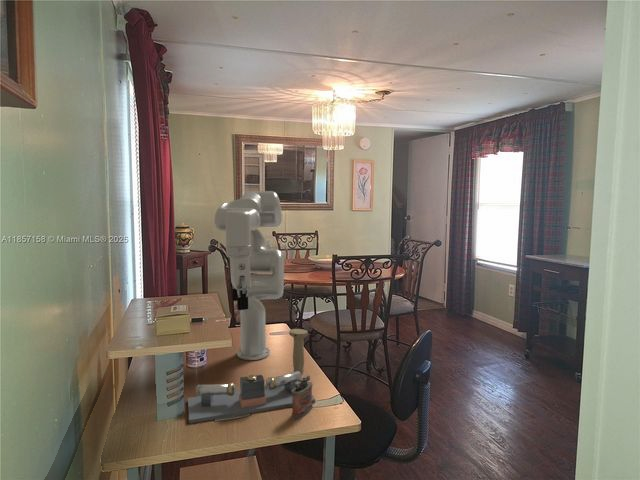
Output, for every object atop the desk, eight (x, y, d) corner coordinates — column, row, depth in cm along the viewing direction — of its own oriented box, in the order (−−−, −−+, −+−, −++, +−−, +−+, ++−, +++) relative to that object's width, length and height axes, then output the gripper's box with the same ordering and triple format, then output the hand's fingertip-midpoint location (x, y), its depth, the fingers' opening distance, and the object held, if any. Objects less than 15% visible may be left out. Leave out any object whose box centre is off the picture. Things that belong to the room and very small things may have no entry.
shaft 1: (235, 402, 123) (235, 380, 123) (233, 409, 119) (233, 386, 119) (198, 403, 123) (198, 381, 122) (195, 410, 119) (195, 387, 118)
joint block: (240, 393, 122) (240, 375, 122) (262, 390, 124) (261, 372, 124) (242, 400, 119) (241, 381, 118) (264, 396, 121) (264, 378, 120)
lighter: (298, 420, 114) (298, 385, 113) (289, 416, 115) (288, 382, 114) (315, 407, 120) (315, 374, 119) (305, 404, 122) (305, 372, 121)
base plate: (188, 401, 124) (187, 391, 124) (302, 383, 136) (302, 375, 135) (189, 423, 112) (188, 413, 111) (315, 402, 123) (315, 392, 123)
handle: (303, 377, 140) (303, 334, 139) (287, 374, 143) (287, 332, 141) (309, 372, 145) (310, 330, 143) (293, 368, 147) (293, 328, 146)
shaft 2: (271, 402, 123) (271, 381, 122) (265, 397, 126) (265, 376, 126) (302, 393, 129) (302, 372, 128) (295, 388, 132) (295, 368, 132)
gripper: (256, 255, 119) (257, 312, 122) (246, 245, 135) (247, 296, 138) (230, 257, 117) (232, 314, 120) (222, 247, 133) (224, 298, 136)
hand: (240, 304), depth 129 cm, fingers open, 9 cm apart
